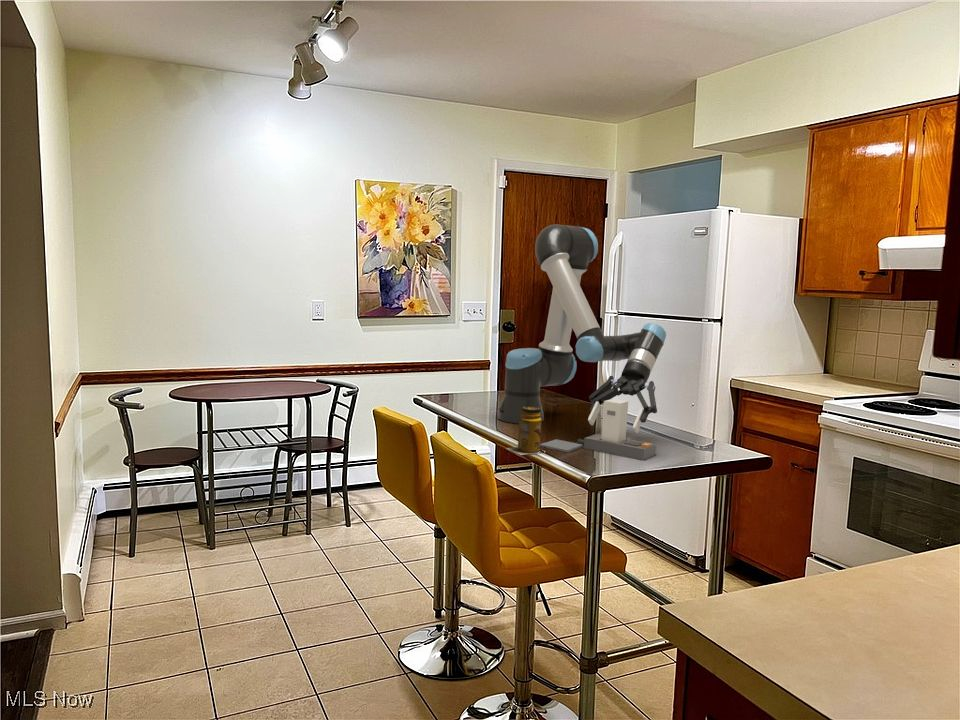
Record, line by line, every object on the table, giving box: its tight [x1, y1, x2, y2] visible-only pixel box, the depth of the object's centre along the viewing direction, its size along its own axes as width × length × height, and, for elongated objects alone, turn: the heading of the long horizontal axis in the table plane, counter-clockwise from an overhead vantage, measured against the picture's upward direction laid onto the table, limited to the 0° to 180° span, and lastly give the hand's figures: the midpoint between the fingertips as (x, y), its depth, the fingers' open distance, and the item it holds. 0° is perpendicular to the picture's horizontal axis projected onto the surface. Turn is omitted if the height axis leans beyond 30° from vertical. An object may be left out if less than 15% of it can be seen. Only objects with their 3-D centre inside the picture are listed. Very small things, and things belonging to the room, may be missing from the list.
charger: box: [601, 398, 629, 444], centre depth 200 cm, size 5×5×12 cm
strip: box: [576, 433, 657, 461], centre depth 201 cm, size 22×8×4 cm, turn 53°
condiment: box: [505, 406, 546, 456], centre depth 195 cm, size 7×8×12 cm
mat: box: [540, 438, 584, 453], centre depth 202 cm, size 9×9×1 cm
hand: (612, 426), depth 198 cm, fingers open, 13 cm apart
